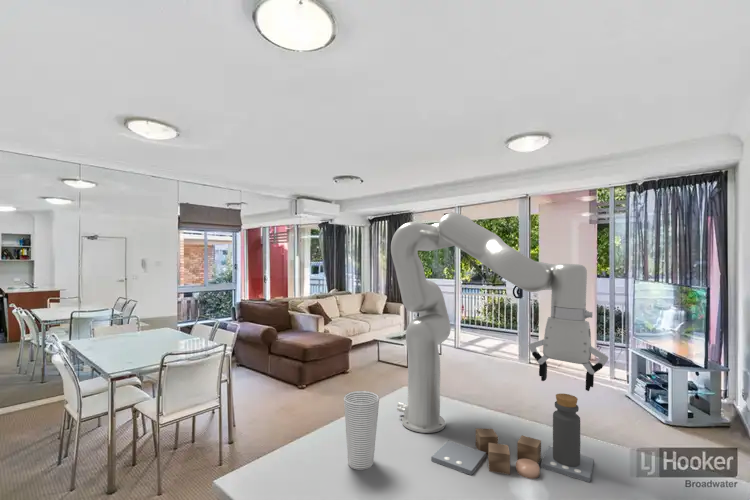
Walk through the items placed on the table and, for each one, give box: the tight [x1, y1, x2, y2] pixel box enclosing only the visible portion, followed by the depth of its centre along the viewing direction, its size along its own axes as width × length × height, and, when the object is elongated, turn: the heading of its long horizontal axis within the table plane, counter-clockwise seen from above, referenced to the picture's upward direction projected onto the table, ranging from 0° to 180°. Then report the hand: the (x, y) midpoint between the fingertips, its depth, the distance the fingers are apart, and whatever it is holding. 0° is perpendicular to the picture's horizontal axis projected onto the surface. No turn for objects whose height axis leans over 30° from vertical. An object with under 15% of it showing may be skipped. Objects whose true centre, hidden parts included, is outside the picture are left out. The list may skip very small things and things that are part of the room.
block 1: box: [474, 427, 499, 456], centre depth 94 cm, size 4×4×4 cm
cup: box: [343, 390, 380, 471], centre depth 87 cm, size 8×8×16 cm
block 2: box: [487, 443, 511, 475], centre depth 86 cm, size 4×4×4 cm
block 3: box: [516, 435, 542, 465], centre depth 90 cm, size 4×4×4 cm
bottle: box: [552, 393, 581, 467], centre depth 88 cm, size 6×6×15 cm
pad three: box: [540, 445, 595, 483], centre depth 88 cm, size 10×10×1 cm
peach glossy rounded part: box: [515, 459, 541, 480], centre depth 84 cm, size 5×5×2 cm
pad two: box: [430, 440, 487, 476], centre depth 90 cm, size 10×10×1 cm
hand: (565, 384), depth 90 cm, fingers open, 9 cm apart
